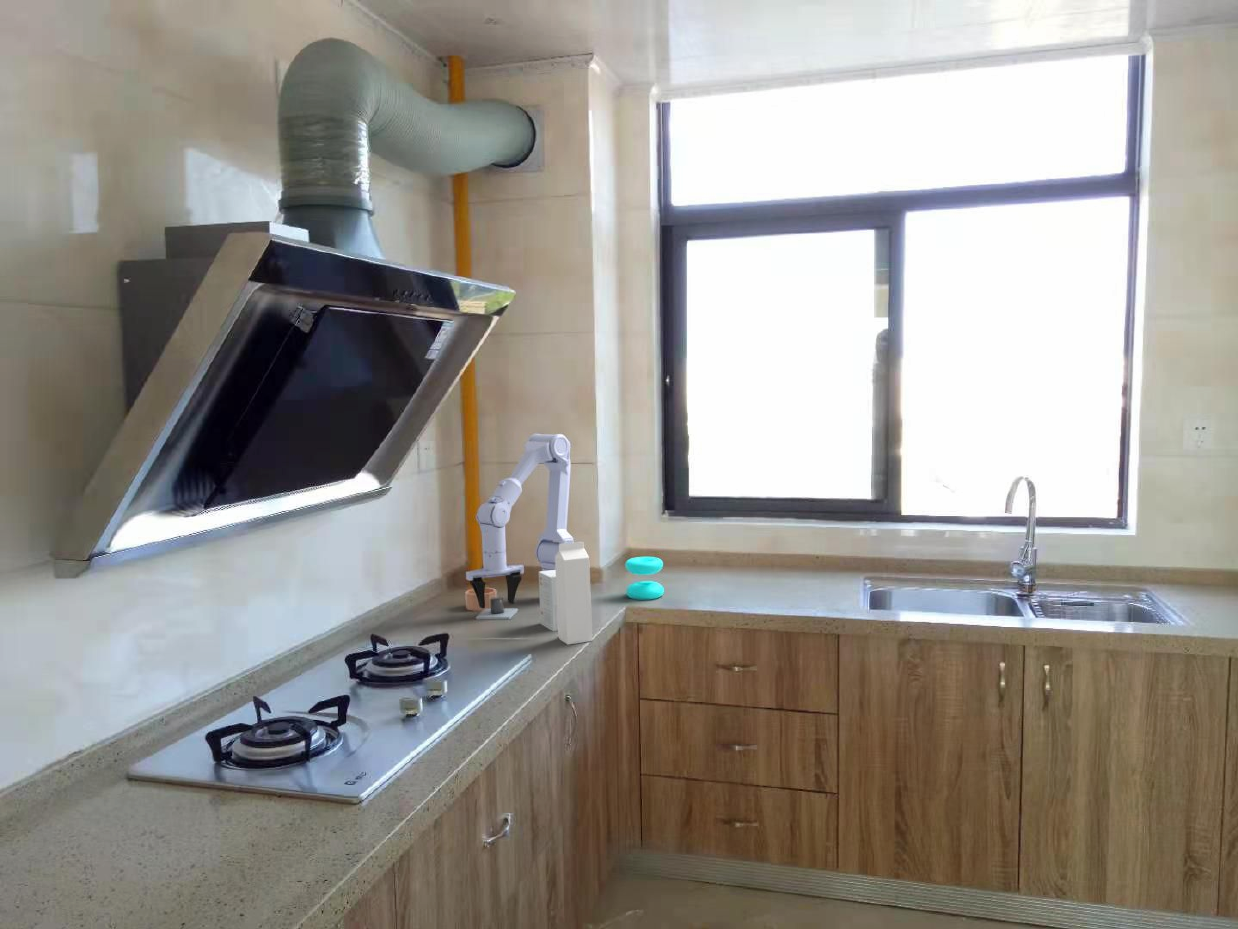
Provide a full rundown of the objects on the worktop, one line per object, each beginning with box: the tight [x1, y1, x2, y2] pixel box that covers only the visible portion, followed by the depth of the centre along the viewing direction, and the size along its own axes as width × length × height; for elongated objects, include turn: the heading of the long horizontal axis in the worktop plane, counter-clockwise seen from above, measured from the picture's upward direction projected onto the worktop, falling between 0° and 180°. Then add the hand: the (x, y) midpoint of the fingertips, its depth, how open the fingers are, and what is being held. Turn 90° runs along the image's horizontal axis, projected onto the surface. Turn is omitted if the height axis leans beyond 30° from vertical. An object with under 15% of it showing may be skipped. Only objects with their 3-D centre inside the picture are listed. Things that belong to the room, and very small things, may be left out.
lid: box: [475, 596, 519, 619], centre depth 235 cm, size 8×8×4 cm
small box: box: [538, 570, 558, 632], centre depth 223 cm, size 8×6×13 cm
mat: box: [474, 610, 520, 621], centre depth 235 cm, size 9×9×1 cm
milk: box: [555, 541, 593, 645], centre depth 211 cm, size 6×6×22 cm
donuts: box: [624, 556, 665, 601], centre depth 251 cm, size 10×10×10 cm
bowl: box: [464, 587, 498, 612], centre depth 245 cm, size 8×8×4 cm
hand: (496, 605), depth 235 cm, fingers open, 7 cm apart
